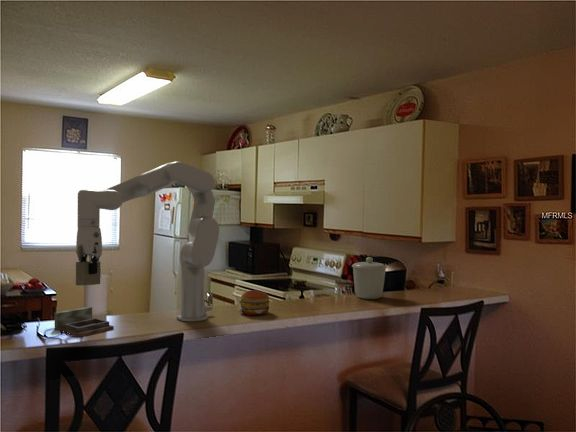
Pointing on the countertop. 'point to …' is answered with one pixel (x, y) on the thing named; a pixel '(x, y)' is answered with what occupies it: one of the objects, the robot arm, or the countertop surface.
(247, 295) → the burger
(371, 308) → the countertop surface
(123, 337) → the countertop surface
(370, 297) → the canister
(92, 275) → the padlock
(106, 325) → the open hinged box
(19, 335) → the countertop surface
